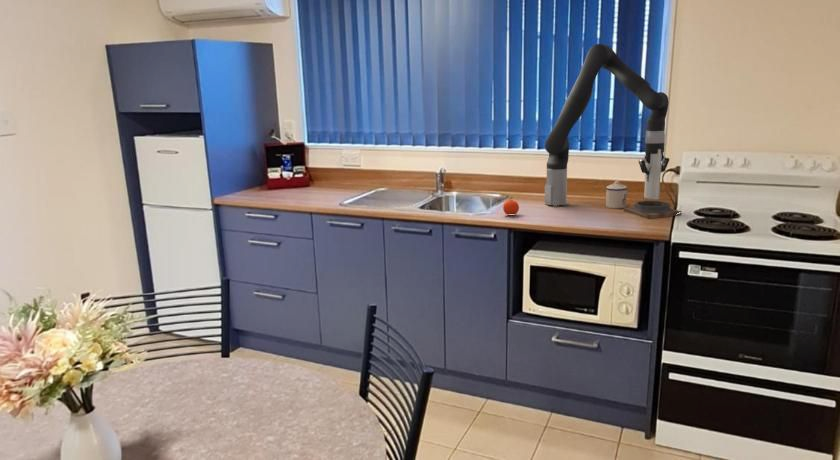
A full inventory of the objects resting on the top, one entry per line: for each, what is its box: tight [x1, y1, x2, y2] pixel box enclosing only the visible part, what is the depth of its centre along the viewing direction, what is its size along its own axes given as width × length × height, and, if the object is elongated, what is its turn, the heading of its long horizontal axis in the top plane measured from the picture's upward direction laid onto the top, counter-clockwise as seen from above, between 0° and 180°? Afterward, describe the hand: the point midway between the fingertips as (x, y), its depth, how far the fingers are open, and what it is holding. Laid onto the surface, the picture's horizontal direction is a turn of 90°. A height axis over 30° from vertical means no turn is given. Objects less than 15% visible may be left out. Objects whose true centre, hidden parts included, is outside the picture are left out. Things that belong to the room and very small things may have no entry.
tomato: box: [502, 199, 520, 215], centre depth 258 cm, size 8×7×7 cm
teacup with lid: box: [605, 180, 628, 209], centre depth 266 cm, size 12×9×12 cm
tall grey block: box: [643, 149, 662, 201], centre depth 246 cm, size 7×6×21 cm
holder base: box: [623, 200, 682, 220], centre depth 250 cm, size 16×17×4 cm
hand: (652, 182), depth 247 cm, fingers closed on tall grey block, 3 cm apart
